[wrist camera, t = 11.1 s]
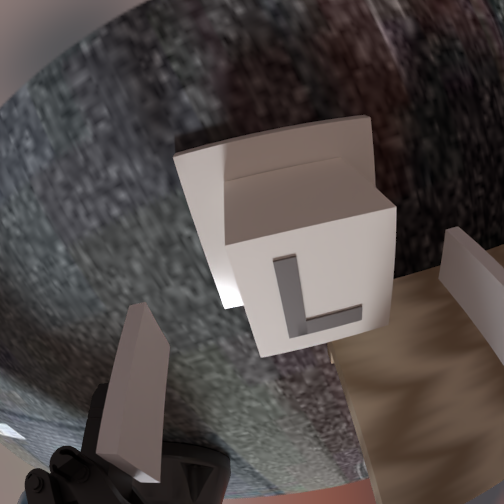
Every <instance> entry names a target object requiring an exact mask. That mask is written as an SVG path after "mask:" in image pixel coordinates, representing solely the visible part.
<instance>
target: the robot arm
mask: <svg viewBox="0 0 504 504" xmlns="http://www.w3.org/2000/svg"><path fill="white" fill-rule="evenodd" d="M438 279H439V280H440V281H441V282H442V284H443V285H444V286H445V287H446V288H447V290H448V291H449V292H450V293H451V295H452V296H453V297H454V298H455V300H456V301H457V302H458V303H459V305H460V306H461V307H462V308H463V310H464V311H465V312H466V314H467V315H468V316H469V318H470V319H471V320H472V322H473V323H474V324H475V326H476V327H477V328H478V330H479V331H480V332H481V334H482V335H483V336H484V338H485V339H486V341H487V342H488V343H489V345H490V346H491V348H492V349H493V351H494V352H495V354H496V355H497V356H498V358H499V359H500V361H501V362H502V364H503V365H504V268H503V267H502V266H501V265H500V264H499V263H498V262H497V261H496V260H495V259H494V258H493V257H492V256H491V255H490V254H488V253H487V252H486V251H485V250H484V249H483V248H482V247H481V246H480V245H479V244H478V243H476V242H475V241H474V240H473V239H472V238H471V237H470V236H469V235H467V234H466V233H465V232H464V231H463V230H462V229H461V228H459V227H458V226H457V227H454V228H450V229H446V230H445V238H444V246H443V253H442V260H441V266H440V272H439V278H438ZM169 352H170V345H169V343H168V341H167V340H166V338H165V336H164V334H163V333H162V331H161V329H160V327H159V326H158V324H157V322H156V320H155V318H154V317H153V315H152V313H151V311H150V309H149V307H148V306H147V304H146V302H144V303H139V304H134V305H130V306H129V309H128V312H127V316H126V319H125V323H124V327H123V330H122V334H121V338H120V341H119V345H118V349H117V353H116V357H115V361H114V365H113V369H112V374H111V378H110V382H109V383H106V384H99V386H98V388H97V389H96V391H95V392H94V394H93V396H92V400H91V405H90V410H89V413H88V420H87V422H86V427H85V432H84V437H83V442H82V447H81V452H80V451H78V450H77V449H76V448H74V447H71V446H62V447H60V448H58V449H57V450H56V451H55V452H54V453H53V455H52V457H51V459H50V465H49V467H50V472H51V473H50V474H49V473H48V472H46V471H44V470H42V469H40V468H36V469H33V470H31V471H30V472H29V473H28V475H27V476H26V479H25V491H24V492H23V493H22V494H21V496H20V499H19V501H18V503H17V504H222V502H223V499H224V496H225V492H226V489H227V486H228V483H229V479H230V476H231V469H230V460H229V458H228V457H226V456H225V455H223V454H222V453H219V452H217V451H214V450H211V449H208V448H204V447H199V446H194V445H188V444H180V443H168V442H162V434H163V419H164V405H165V393H166V382H167V372H168V362H169Z"/></svg>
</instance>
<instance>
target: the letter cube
mask: <svg viewBox="0 0 504 504" xmlns="http://www.w3.org/2000/svg"><path fill="white" fill-rule="evenodd" d="M396 209H397V207H396V206H395V205H394V204H393V203H392V202H391V201H390V200H389V199H388V198H387V197H385V196H384V195H383V194H382V193H381V192H380V191H379V190H378V189H377V188H376V187H374V186H373V185H372V184H371V183H370V182H369V181H368V180H367V179H365V178H364V177H363V176H362V175H361V174H360V173H359V172H357V171H356V170H355V169H354V168H353V167H352V166H350V165H349V164H348V163H347V162H346V161H344V160H343V159H342V158H341V157H339V158H333V159H328V160H323V161H317V162H312V163H307V164H302V165H297V166H292V167H288V168H283V169H278V170H274V171H269V172H265V173H260V174H256V175H251V176H247V177H243V178H239V179H234V180H230V181H226V182H224V230H225V248H226V251H227V254H228V257H229V260H230V264H231V267H232V270H233V273H234V276H235V280H236V283H237V286H238V289H239V292H240V295H241V298H242V301H243V304H244V308H245V311H246V314H247V317H248V320H249V323H250V326H251V329H252V332H253V335H254V338H255V341H256V344H257V347H258V350H259V353H260V356H261V358H262V357H267V356H272V355H276V354H281V353H285V352H290V351H294V350H298V349H303V348H307V347H311V346H315V345H319V344H323V343H327V342H331V341H335V340H338V339H342V338H346V337H349V336H353V335H356V334H360V333H363V332H367V331H370V330H374V329H377V328H380V327H383V326H387V325H389V317H390V309H391V299H392V289H393V277H394V263H395V245H396Z"/></svg>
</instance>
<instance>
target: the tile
mask: <svg viewBox="0 0 504 504" xmlns="http://www.w3.org/2000/svg"><path fill="white" fill-rule="evenodd" d="M339 157H341V158H342V159H343V160H344V161H346V162H347V163H348V164H349V165H350V166H352V167H353V168H354V169H355V170H356V171H357V172H359V173H360V174H361V175H362V176H363V177H364V178H365V179H367V180H368V181H369V182H370V183H371V184H372V185H373V186H374V187H376V184H375V165H374V150H373V138H372V127H371V117H369V116H366V115H358V116H350V117H343V118H336V119H329V120H322V121H316V122H310V123H304V124H298V125H293V126H287V127H282V128H277V129H272V130H267V131H262V132H257V133H253V134H248V135H244V136H239V137H235V138H231V139H227V140H223V141H219V142H215V143H211V144H207V145H203V146H199V147H195V148H192V149H188V150H185V151H181V152H178V153H175V154H174V156H173V159H174V162H175V166H176V169H177V172H178V175H179V178H180V181H181V184H182V187H183V190H184V194H185V197H186V200H187V203H188V206H189V209H190V212H191V215H192V218H193V221H194V224H195V227H196V230H197V232H198V235H199V238H200V241H201V244H202V247H203V250H204V253H205V256H206V258H207V261H208V264H209V267H210V270H211V272H212V275H213V278H214V281H215V284H216V286H217V289H218V292H219V295H220V297H221V300H222V303H223V305H224V308H225V309H226V308H231V307H236V306H241V305H244V304H243V301H242V298H241V295H240V292H239V289H238V286H237V283H236V280H235V276H234V273H233V270H232V267H231V264H230V260H229V257H228V254H227V251H226V248H225V230H224V182H226V181H230V180H234V179H239V178H243V177H247V176H251V175H256V174H260V173H265V172H269V171H274V170H278V169H283V168H288V167H292V166H297V165H302V164H307V163H312V162H317V161H323V160H328V159H333V158H339Z"/></svg>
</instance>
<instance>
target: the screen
mask: <svg viewBox="0 0 504 504" xmlns="http://www.w3.org/2000/svg"><path fill="white" fill-rule="evenodd" d="M486 252H487V253H488V254H490V255H491V256H492V257H493V258H494V259H495V260H496V261H497V262H498V263H499V264H500V265H501V266H502V267H503V268H504V244H503V245H500V246H497V247H495V248H492V249H489V250H486ZM440 266H441V265H440ZM440 266H436V267H433V268H430V269H427V270H423V271H420V272H417V273H413V274H410V275H406V276H403V277H399V278H396V279H393V289H392V299H391V309H390V317H389V325H387V326H383V327H380V328H377V329H374V330H370V331H367V332H363V333H360V334H356V335H353V336H349V337H346V338H342V339H338V340H335V341H331V342H327V349H328V355H329V358H330V361H331V364H332V363H335V366H336V369H337V372H338V375H339V378H340V382H341V385H342V388H343V391H344V394H345V397H346V400H347V404H348V407H349V410H350V413H351V417H352V420H353V423H354V426H355V430H356V433H357V436H358V440H359V443H360V447H361V450H362V453H363V457H364V460H365V464H366V467H367V471H368V474H369V478H370V482H371V485H372V489H373V492H374V496H375V500H376V504H464V503H466V502H468V501H470V500H472V499H473V498H475V497H477V496H478V495H480V494H482V493H483V492H485V491H487V490H488V489H490V488H492V487H493V486H495V485H497V484H498V483H500V482H501V481H503V480H504V365H503V364H502V362H501V361H500V359H499V358H498V356H497V355H496V354H495V352H494V351H493V349H492V348H491V346H490V345H489V343H488V342H487V341H486V339H485V338H484V336H483V335H482V334H481V332H480V331H479V330H478V328H477V327H476V326H475V324H474V323H473V322H472V320H471V319H470V318H469V316H468V315H467V314H466V312H465V311H464V310H463V308H462V307H461V306H460V305H459V303H458V302H457V301H456V300H455V298H454V297H453V296H452V295H451V293H450V292H449V291H448V290H447V288H446V287H445V286H444V285H443V284H442V282H441V281H440V280H439V279H438V278H439V272H440Z"/></svg>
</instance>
